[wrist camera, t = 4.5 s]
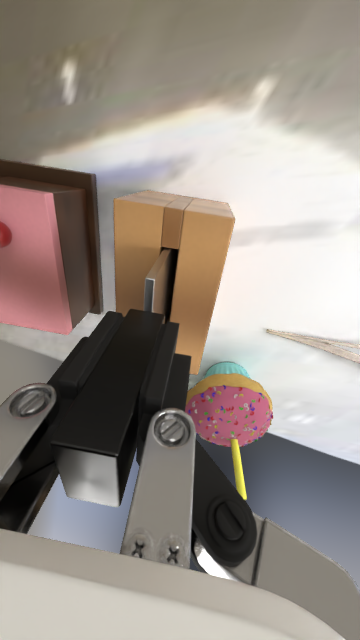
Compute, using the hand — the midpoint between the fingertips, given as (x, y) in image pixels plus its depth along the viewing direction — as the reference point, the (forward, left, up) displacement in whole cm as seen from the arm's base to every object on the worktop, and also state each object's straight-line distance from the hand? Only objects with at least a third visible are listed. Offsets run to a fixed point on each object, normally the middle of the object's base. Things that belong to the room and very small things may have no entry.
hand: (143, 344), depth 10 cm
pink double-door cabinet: (0, -14, -12) cm, 18 cm away
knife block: (0, 0, -12) cm, 12 cm away
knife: (0, 0, -9) cm, 9 cm away
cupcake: (+12, +7, -12) cm, 19 cm away
